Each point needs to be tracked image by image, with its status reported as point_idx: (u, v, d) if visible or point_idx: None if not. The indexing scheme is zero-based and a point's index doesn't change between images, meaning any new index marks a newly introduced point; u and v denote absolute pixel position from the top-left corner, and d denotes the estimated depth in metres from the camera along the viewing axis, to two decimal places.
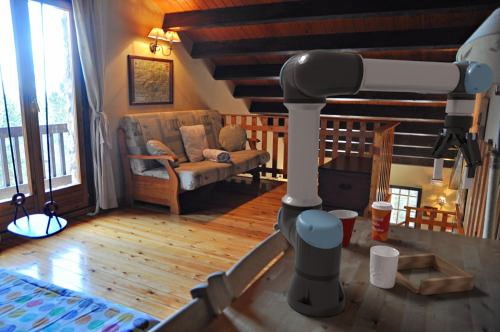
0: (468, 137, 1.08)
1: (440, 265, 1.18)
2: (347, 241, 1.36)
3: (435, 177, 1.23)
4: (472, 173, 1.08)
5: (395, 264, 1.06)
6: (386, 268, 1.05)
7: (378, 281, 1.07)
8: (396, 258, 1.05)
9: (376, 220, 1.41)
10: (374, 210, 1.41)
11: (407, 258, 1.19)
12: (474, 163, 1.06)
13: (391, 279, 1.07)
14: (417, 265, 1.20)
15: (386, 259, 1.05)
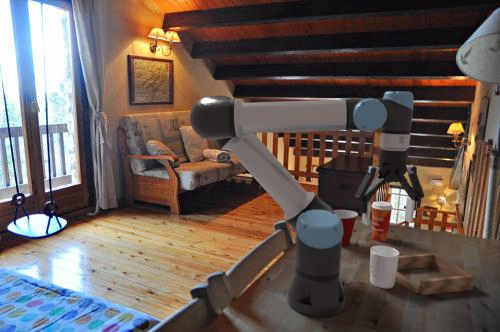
0: None
1: (440, 265, 1.18)
2: (347, 241, 1.36)
3: (405, 219, 1.09)
4: (361, 207, 1.04)
5: (395, 264, 1.06)
6: (386, 268, 1.05)
7: (378, 281, 1.07)
8: (396, 258, 1.05)
9: (376, 220, 1.41)
10: (374, 210, 1.41)
11: (407, 258, 1.19)
12: None
13: (391, 279, 1.07)
14: (417, 265, 1.20)
15: (386, 259, 1.05)
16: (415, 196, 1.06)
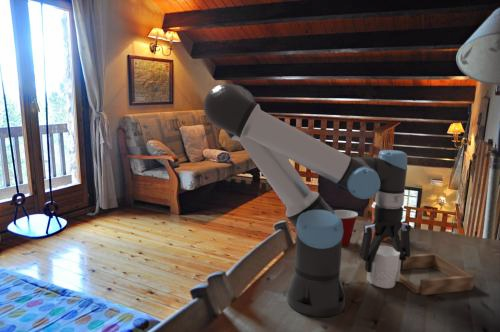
0: None
1: (440, 265, 1.18)
2: (347, 241, 1.36)
3: None
4: (366, 266, 1.08)
5: (396, 264, 1.06)
6: (387, 268, 1.05)
7: (378, 281, 1.07)
8: (397, 258, 1.05)
9: None
10: (374, 210, 1.41)
11: (407, 258, 1.19)
12: None
13: (392, 279, 1.07)
14: (417, 265, 1.20)
15: (386, 259, 1.05)
16: (402, 255, 1.08)
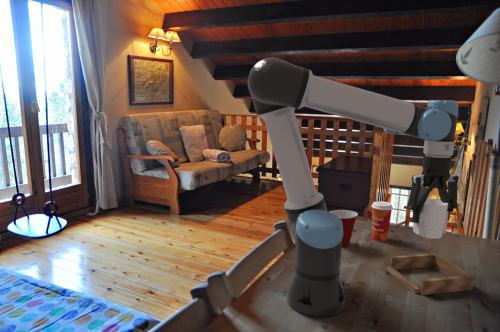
0: None
1: (440, 265, 1.18)
2: (347, 241, 1.36)
3: None
4: (413, 217, 1.08)
5: (444, 214, 1.06)
6: (435, 218, 1.06)
7: (426, 231, 1.07)
8: (445, 208, 1.06)
9: (376, 220, 1.41)
10: (374, 210, 1.41)
11: (407, 258, 1.19)
12: None
13: (440, 229, 1.07)
14: (417, 265, 1.20)
15: (436, 209, 1.05)
16: (449, 207, 1.09)
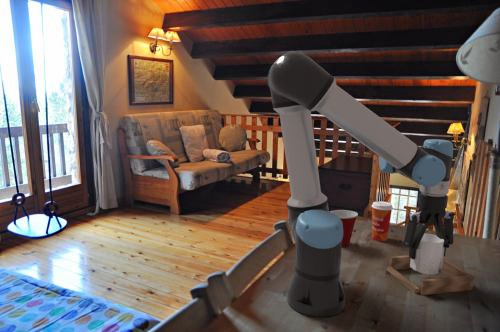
0: None
1: None
2: (347, 241, 1.36)
3: None
4: (410, 253, 1.10)
5: (440, 251, 1.08)
6: (432, 254, 1.08)
7: (423, 267, 1.09)
8: (441, 245, 1.08)
9: (376, 220, 1.41)
10: (374, 210, 1.41)
11: (407, 258, 1.19)
12: None
13: (436, 265, 1.09)
14: None
15: (432, 246, 1.07)
16: (445, 243, 1.11)
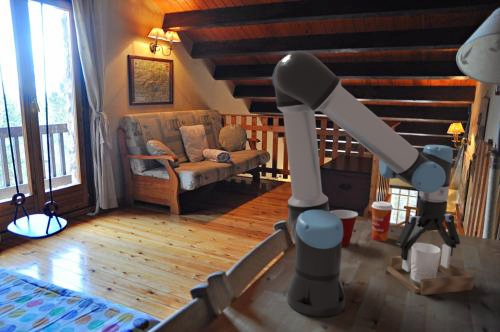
0: None
1: (440, 265, 1.18)
2: (347, 241, 1.36)
3: (441, 263, 1.14)
4: (402, 254, 1.10)
5: (437, 260, 1.08)
6: (428, 264, 1.08)
7: (419, 277, 1.10)
8: (438, 255, 1.08)
9: (376, 220, 1.41)
10: (374, 210, 1.41)
11: None
12: None
13: (433, 275, 1.09)
14: None
15: (428, 256, 1.08)
16: (451, 243, 1.11)
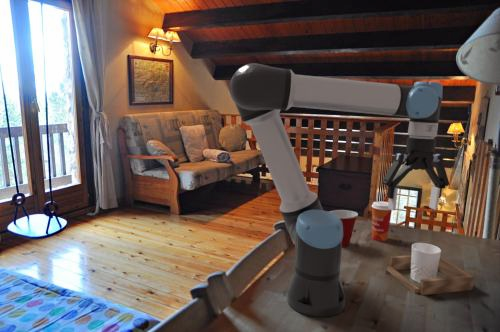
0: None
1: (440, 265, 1.18)
2: (347, 241, 1.36)
3: (430, 206, 1.13)
4: (388, 193, 1.09)
5: (437, 261, 1.08)
6: (428, 264, 1.08)
7: (419, 277, 1.10)
8: (438, 255, 1.08)
9: (376, 220, 1.41)
10: (374, 210, 1.41)
11: (407, 258, 1.19)
12: None
13: (433, 275, 1.09)
14: None
15: (428, 256, 1.07)
16: (440, 184, 1.10)
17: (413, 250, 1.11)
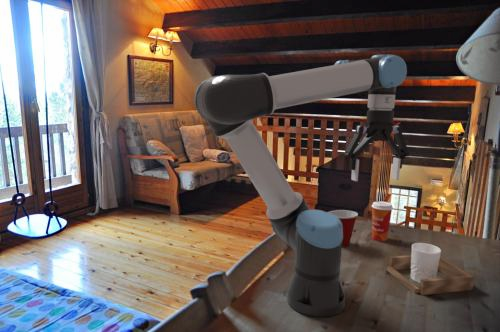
0: None
1: (440, 265, 1.18)
2: (347, 241, 1.36)
3: (392, 177, 1.17)
4: (350, 164, 1.12)
5: (437, 261, 1.08)
6: (428, 264, 1.08)
7: (419, 277, 1.10)
8: (438, 255, 1.08)
9: (376, 220, 1.41)
10: (374, 210, 1.41)
11: (407, 258, 1.19)
12: None
13: (433, 275, 1.09)
14: None
15: (428, 256, 1.07)
16: (401, 154, 1.14)
17: (413, 250, 1.11)
